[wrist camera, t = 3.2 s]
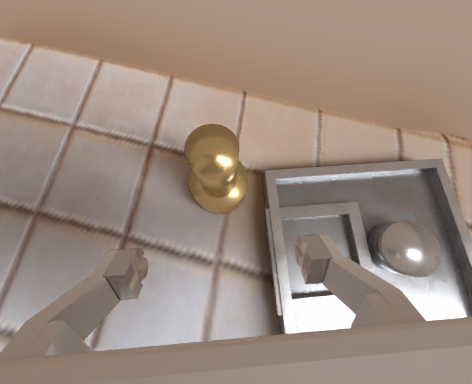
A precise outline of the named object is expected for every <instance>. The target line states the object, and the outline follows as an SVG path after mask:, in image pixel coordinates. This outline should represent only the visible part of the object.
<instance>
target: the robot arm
mask: <svg viewBox="0 0 472 384" xmlns="http://www.w3.org/2000/svg"><path fill="white" fill-rule="evenodd" d="M296 242H297V244H298V245H297V246H296V247H295V258H296V262H297V264H298V266H300V267H301V268H302V269H301V274H302V276H303V279H304V281H305V284H319V283H323V285H324V286H325V287H326V288H327V289H328V290H329V291H330V292H331V293H333V294H334V295H335V296H336V297H337V298H338V299H339V300H340V301H341V302H342V303H343V304H344V305H345V306H347V307H348V308H349V309H350V310H351V311H352V312H353V313H354V314H355V315H356V316H355V318H354V320H353V321H352V323H351V326H350V327H351V328H344V329H334V330H323V331H312V332H301V333H290V334H279V335H268V336H257V337H246V338H235V339H224V340H213V341H203V342H192V343H181V344H170V345H159V346H149V347H138V348H127V349H116V350H105V351H95V352H90V351H91V350H90V347H89V346H88V345H87V344H86V343H85V342H84V339H85V338H86V337H87V336H88V335H89V334H90V333H91V332H92V331H93V330H94V329H95V328H96V327H97V325H98V324H99V323H100V322H101V321H102V320H103V319H104V318H105V317H106V316H107V315H108V314H109V313H110V311H111V310H112V309H113V308H114V307H115V306H116V305H117V304H118V303H119V302H120V301H119V300H128V299H137V298H138V296H139V293H140V291H141V288H142V286H143V285H142V283H141V281H142V280H143V279H145V278H146V275H147V272H148V262H147V259H146V258H144V257H143V254H144V252H143V250H142V248H130V249H114V250H109V251H108V252H107V253H106V254H105V256H104V257H103V259H102V260H101V262H100V263H99V265H98V266H97V268H96V269H95V271H94V272H93V274H92V275H91V277H90V278H86V279H85V280H83V281H82V282H81V283H79V284H78V285H77V286H75V287H74V288H72V289H71V290H70V291H68V292H67V293H65V294H64V295H63V296H61V297H60V298H58V299H57V300H56V301H54V302H53V303H51V304H50V305H49V306H47V307H46V308H45V309H43V310H42V311H40V312H39V313H38V314H36V315H35V316H33V317H32V318H31V319H29V320H28V321H26V322H25V323H24V325H23V326H22V327H21V328H20V330H19V331H18V332H17V333H16V334H15V336H14V337H13V338H12V339H11V341H10V342H9V343H8V344H7V346H6V347H5V348H4V349H3V351H2V352H1V353H0V384H472V317H463V318H452V319H441V320H431V321H426V319H425V318H424V317H423V316H422V315H421V314H420V312H419V311H418V310H417V309H416V308H415V306H414V305H413V304H412V303H411V302H410V300H409V299H408V298H407V297H406V296H405V294H404V293H403V292H402V291H401V290H400V289H398V288H397V287H395V286H393V285H392V284H390V283H388V282H387V281H385V280H383V279H382V278H380V277H378V276H377V275H375V274H374V273H372V272H370V271H369V270H367V269H365V268H364V267H362V266H360V265H359V264H357V263H355V262H354V261H352V260H351V259H349V258H347V257H346V258H344V257H343V255H342V254H341V252H340V251H339V249H338V248H337V246H336V245H335V244H334V242H333V241H332V239H331V238H330V236H329V235H328V234H327V233H324V234H313V235H301V236H298V237H297V240H296Z"/></svg>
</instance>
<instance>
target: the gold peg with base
mask: <svg viewBox="0 0 472 384" xmlns="http://www.w3.org/2000/svg"><path fill="white" fill-rule="evenodd" d="M184 151H185V156H186V159H187V161H188V163H189V164H190V166H191V168H192V170H191V172H190V176H189V188H190V191H191V194H192V196H193V197H194V199H195V200H196V201H197V202H198V203H199V204H200V206H201V207H202V208H204V209H205V210H207V211H209V212H211V213H215V214H225V213H229V212H231V211H233V210H235V209H236V208H237V207H238V206H239V205H240V204H241V203H242V201H243V199H244V197H245V194H246V191H247V187H248V175H247V172H246V170H245V168H244V166H243V165H242V163H241V162H240V161H239V160H238V158H239V143H238V140H237V138H236V136H235V134H234V133H233V132H232V131H231V130H229V129H228V128H226V127H224V126H222V125H218V124H207V125H203V126H200V127H198V128H197V129H195V130H194V131H193V132H192V133H191V134H190V135H189V136H188V138H187V140H186V143H185V149H184Z"/></svg>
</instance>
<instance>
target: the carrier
mask: <svg viewBox="0 0 472 384" xmlns="http://www.w3.org/2000/svg"><path fill="white" fill-rule="evenodd" d="M262 183H263V191H264V199H265V208H266V209H265V210H264V212H265V221H266V229H267V238H268V246H269V255H270V263H271V272H272V280H273V289H274V297H275V306H276V313H277V314H278V316H279V325H280V333H281V334H290V333H301V332H312V331H323V330H334V329H344V328H351V327H350V326H351V323H352V321H353V320H354V318H355V316H356V315H355V314H354V313H353V312H352V311H351V310H350V309H349V308H348V307H347V306H345V305H344V304H343V303H342V302H341V301H340V300H339V299H338V298H337V297H336V296H335V295H334V294H333V293H331V292H330V291H329V290H328V289H327V288H326V287H325V286H324V285H323V283H319V284H305V281H304V279H303V276H302V274H301V269H302V268H301V267H300V266H298V264H297V262H296V258H295V247H296V246H297V245H298V244H297V242H296V240H297V237H298V236H301V235H313V234H324V233H327V234H328V235H329V236H330V238H331V239H332V241H333V242H334V244H335V245H336V246H337V248H338V249H339V251H340V252H341V254H342V255H343V257H344V258H346V257H347V258H349V259H351V260H352V261H354V262H355V263H357V264H359V265H360V266H362V267H364V268H365V269H367V270H369V271H370V272H372V273H374V274H375V275H377V276H378V277H380V278H382V279H383V280H385V281H387V282H388V283H390V284H392V285H393V286H395V287H397V288H398V289H400V290H401V291H402V292H403V293H404V294H405V296H406V297H407V298H408V299H409V300H410V302H411V303H412V304H413V305H414V306H415V308H416V309H417V310H418V311H419V312H420V314H421V315H422V316H423V317H424V318H425V319H426V321H431V320H441V319H452V318H463V317H472V239H471V237H470V234H469V231H468V228H467V226H466V223H465V220H464V218H463V215H462V212H461V209H460V207H459V204H458V201H457V199H456V196H455V193H454V190H453V188H452V185H451V182H450V180H449V177H448V174H447V171H446V169H445V166H444V163H443V161H442V159H427V160H413V161H398V162H383V163H368V164H354V165H339V166H324V167H309V168H295V169H280V170H265V172H264V174H263V176H262Z"/></svg>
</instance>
